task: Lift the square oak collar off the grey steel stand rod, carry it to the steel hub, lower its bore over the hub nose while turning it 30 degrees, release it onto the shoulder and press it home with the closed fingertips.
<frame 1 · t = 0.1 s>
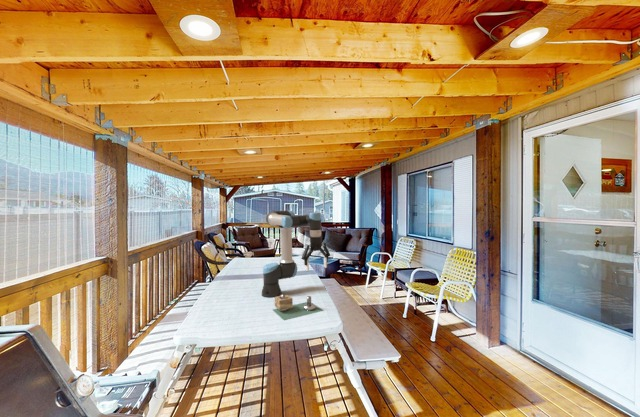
hand: (316, 268, 188), 28 cm above the table, fingers open, 13 cm apart
collar: (283, 306, 191), point 2 cm above the table, touching stand
stand: (283, 309, 191), resting on mat
mat: (297, 310, 190), on the table
hub: (309, 308, 192), resting on mat
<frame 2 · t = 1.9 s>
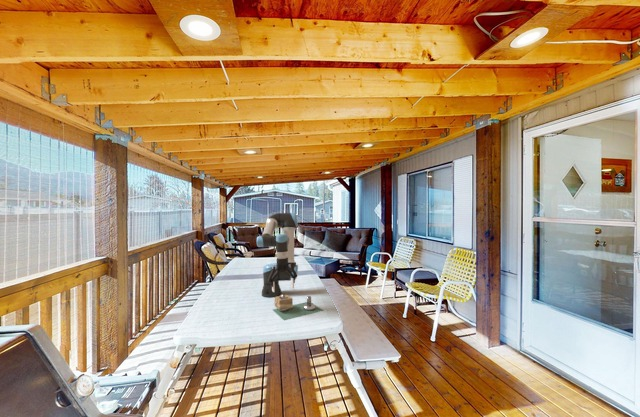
hand: (283, 289, 190), 14 cm above the table, fingers open, 13 cm apart
nothing on the table moved.
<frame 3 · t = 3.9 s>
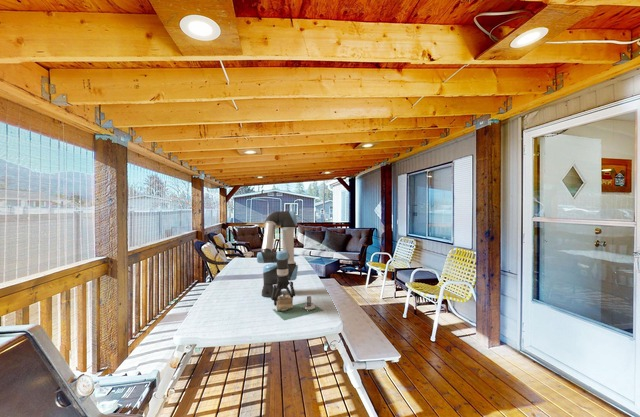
hand: (283, 308, 191), 1 cm above the table, fingers closed on collar, 9 cm apart
collar: (283, 306, 191), point 2 cm above the table, touching gripper, stand
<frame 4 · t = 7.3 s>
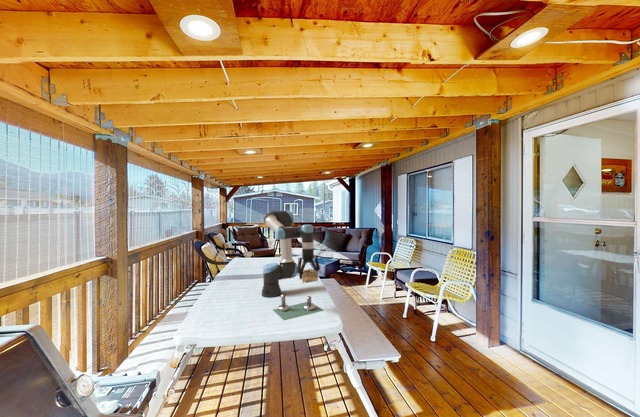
hand: (308, 282, 191), 18 cm above the table, fingers closed on collar, 9 cm apart
collar: (308, 280, 191), point 20 cm above the table, touching gripper
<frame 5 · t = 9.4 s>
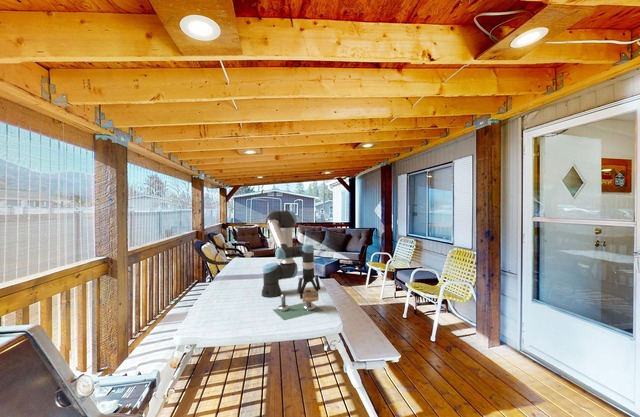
hand: (309, 301, 191), 5 cm above the table, fingers closed on collar, 9 cm apart
collar: (309, 299, 191), point 6 cm above the table, touching gripper
when the fingers open (2 cm above the table, at t = 11.0 s): collar drops 1 cm, resting on hub.
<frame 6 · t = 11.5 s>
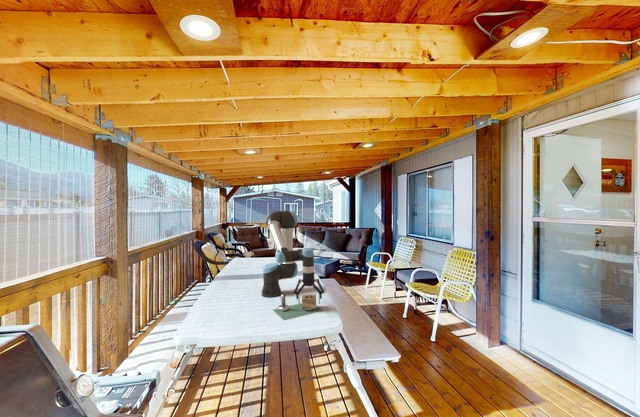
hand: (309, 303, 191), 4 cm above the table, fingers open, 13 cm apart
collar: (309, 305, 191), point 2 cm above the table, touching hub
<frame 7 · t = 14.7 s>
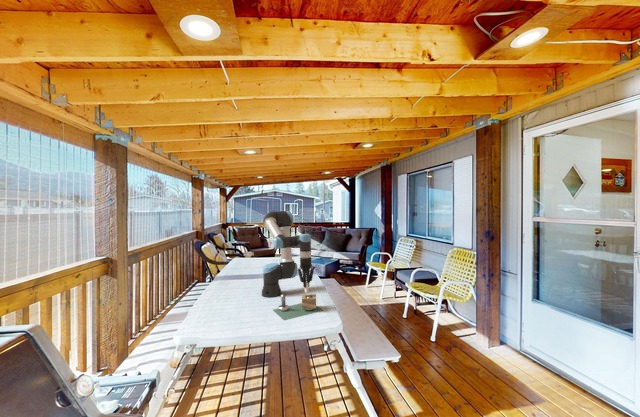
hand: (306, 291, 194), 11 cm above the table, fingers closed
nothing on the table moved.
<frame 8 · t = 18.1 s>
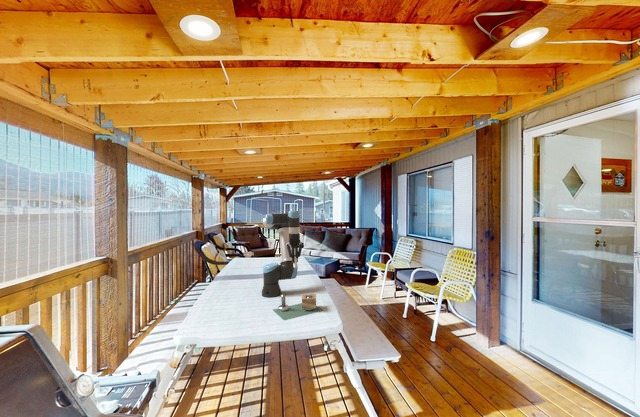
hand: (295, 267, 199), 26 cm above the table, fingers closed
nothing on the table moved.
at the end: collar 0.0 cm off-centre on the hub, point 2.0 cm above the hub's base; collar tilted 0°; the gripper is holding nothing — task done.
